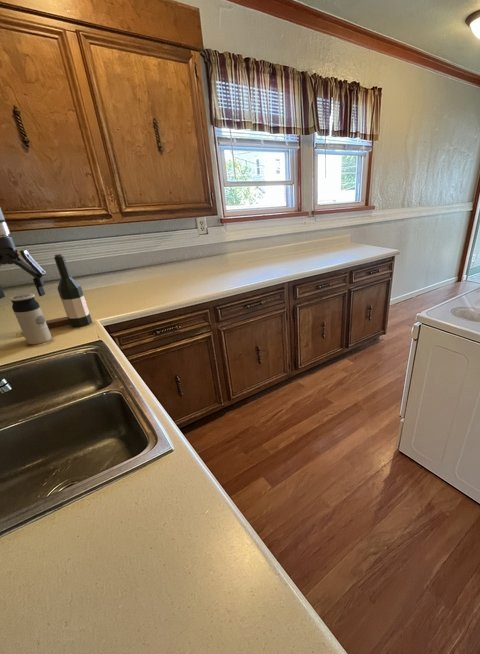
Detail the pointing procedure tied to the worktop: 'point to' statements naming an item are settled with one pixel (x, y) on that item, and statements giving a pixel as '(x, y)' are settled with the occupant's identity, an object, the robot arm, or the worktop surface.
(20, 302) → the travel mug
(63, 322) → the granola bar
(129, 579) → the worktop surface
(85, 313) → the wine bottle
